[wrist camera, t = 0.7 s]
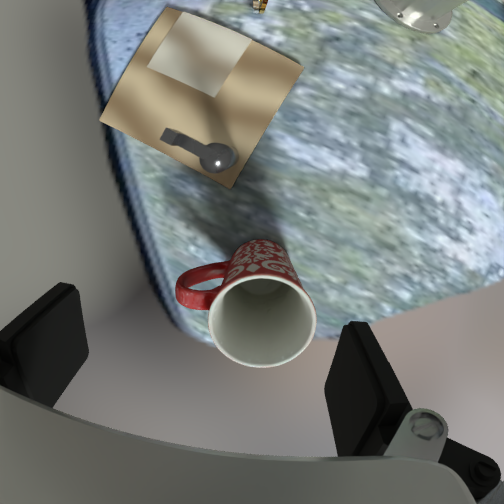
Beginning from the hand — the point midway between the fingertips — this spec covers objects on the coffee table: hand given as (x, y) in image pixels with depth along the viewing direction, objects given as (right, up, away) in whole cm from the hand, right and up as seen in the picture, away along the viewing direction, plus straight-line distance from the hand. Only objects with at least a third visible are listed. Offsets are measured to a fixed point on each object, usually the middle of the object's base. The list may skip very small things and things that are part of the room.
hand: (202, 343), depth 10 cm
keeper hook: (-2, +14, +22) cm, 26 cm away
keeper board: (-4, +21, +21) cm, 30 cm away
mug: (+1, +2, +28) cm, 28 cm away
